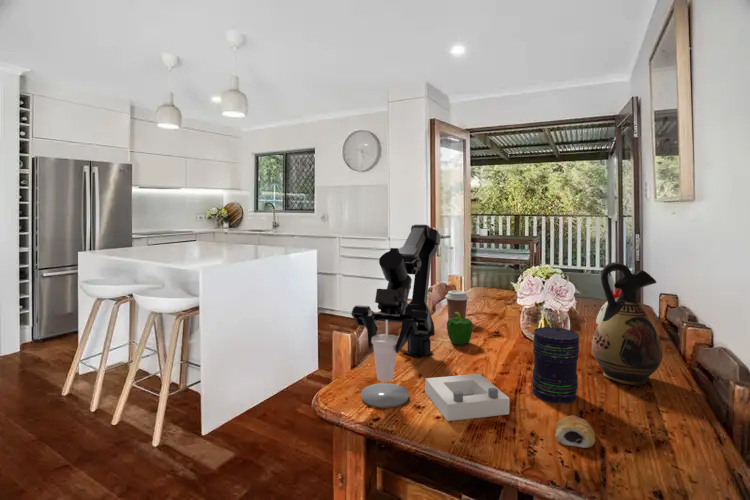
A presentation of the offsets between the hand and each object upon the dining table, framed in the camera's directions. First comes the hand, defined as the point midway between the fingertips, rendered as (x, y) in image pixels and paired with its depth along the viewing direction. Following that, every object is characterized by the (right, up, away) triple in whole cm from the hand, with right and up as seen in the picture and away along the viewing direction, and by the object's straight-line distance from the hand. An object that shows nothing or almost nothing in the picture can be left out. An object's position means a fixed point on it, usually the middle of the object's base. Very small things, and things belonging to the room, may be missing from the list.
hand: (383, 350), depth 95 cm
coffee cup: (+30, -6, +69) cm, 76 cm away
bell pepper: (+26, -8, +43) cm, 51 cm away
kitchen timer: (+88, -6, +59) cm, 106 cm away
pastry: (+36, -13, -15) cm, 41 cm away
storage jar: (+40, -11, +3) cm, 42 cm away
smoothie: (0, -7, +2) cm, 7 cm away
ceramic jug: (+62, -10, +13) cm, 64 cm away
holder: (+18, -12, -1) cm, 22 cm away
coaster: (0, -11, +2) cm, 12 cm away
